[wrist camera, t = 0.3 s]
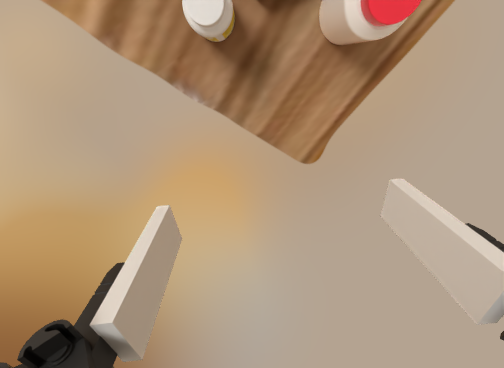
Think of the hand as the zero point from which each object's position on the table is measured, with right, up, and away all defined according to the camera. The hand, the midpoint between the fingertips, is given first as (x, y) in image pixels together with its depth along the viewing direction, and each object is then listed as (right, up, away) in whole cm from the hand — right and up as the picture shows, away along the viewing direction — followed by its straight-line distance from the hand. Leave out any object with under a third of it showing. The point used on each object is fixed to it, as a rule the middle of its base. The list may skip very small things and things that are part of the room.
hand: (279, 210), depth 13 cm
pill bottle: (+11, +25, +16) cm, 32 cm away
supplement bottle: (-7, +24, +16) cm, 30 cm away
